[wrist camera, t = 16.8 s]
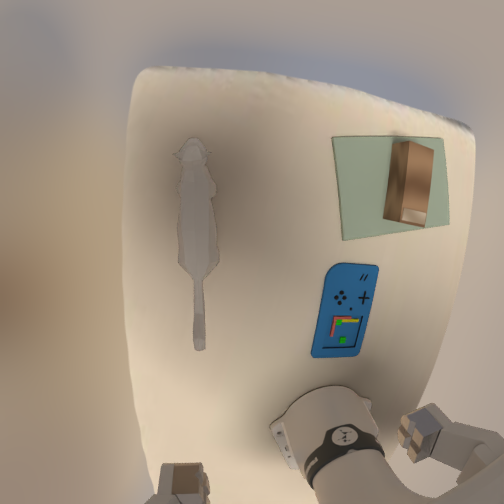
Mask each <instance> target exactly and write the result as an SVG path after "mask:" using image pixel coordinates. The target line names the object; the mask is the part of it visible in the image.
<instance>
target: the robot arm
mask: <svg viewBox="0 0 504 504" xmlns="http://www.w3.org/2000/svg"><path fill="white" fill-rule="evenodd" d="M371 407H372V403H371V401H370V400H369V399H367V398H363V397H360V396H358V395H357V394H356V393H355V392H354V391H353V390H351V389H349V388H347V387H343V386H328V387H323V388H319V389H316V390H314V391H311V392H309V393H307V394H305V395H304V396H302V397H301V398H299V399H298V400H297V401H295V402H294V403H293V404H292V405H291V406H290V407H289V409H288V410H287V411H286V413H285V414H284V415H283V416H282V417H281V418H279V419H278V420H276V421H275V422H274V423H272V424H271V426H270V429H271V432H272V434H273V436H274V438H275V440H276V442H277V444H278V446H279V448H280V450H281V452H282V454H283V456H284V458H285V460H286V462H287V464H288V466H289V468H290V469H295V470H300V472H301V474H302V476H303V478H304V479H306V480H307V482H308V483H309V485H310V486H311V488H312V489H313V490H314V491H315V494H316V497H317V499H318V502H319V504H504V439H503V438H502V437H501V436H500V435H499V434H498V433H497V432H494V431H490V430H486V429H482V428H477V427H473V426H470V425H466V424H462V423H458V422H454V423H452V422H451V420H449V419H448V417H447V416H446V415H445V414H444V413H443V412H442V411H441V410H440V409H439V408H438V407H437V406H436V405H435V404H434V403H430V404H428V405H426V406H424V407H421V408H419V409H416V410H414V411H412V412H410V413H407V414H405V415H403V416H402V417H401V420H400V422H401V424H402V425H401V426H400V427H399V429H398V433H397V435H398V440H399V443H400V445H401V446H402V447H403V448H406V449H408V452H407V455H408V456H409V458H410V459H411V461H412V462H413V463H416V462H419V461H421V460H423V459H425V458H427V457H431V458H433V459H435V460H437V461H440V462H442V463H444V464H447V465H449V466H451V467H453V468H456V469H458V470H460V471H462V472H461V474H460V475H459V477H458V478H457V481H456V482H457V484H458V486H456V487H455V488H453V489H451V490H450V491H448V492H446V493H444V494H443V495H441V496H439V497H437V498H430V497H425V496H422V495H419V494H417V493H415V492H413V491H411V490H410V489H408V488H407V487H406V486H405V485H404V484H403V483H402V482H401V481H400V480H399V478H398V477H397V476H396V475H395V473H394V472H393V470H392V469H391V467H390V466H389V464H388V463H387V461H386V460H385V454H384V451H383V449H382V446H381V444H380V443H379V441H377V439H376V438H377V435H378V433H379V429H378V427H377V425H376V423H375V421H374V419H373V417H372V415H371V414H370V410H371ZM209 494H210V486H209V480H208V477H207V474H206V473H205V472H203V465H202V463H201V462H200V463H163V464H162V466H161V471H160V478H159V486H158V493H157V494H154V495H153V496H152V497H151V498H150V499H149V500H148V501H147V502H146V503H145V504H210V500H209V498H208V495H209Z"/></svg>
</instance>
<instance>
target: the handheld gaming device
mask: <svg viewBox="0 0 504 504" xmlns="http://www.w3.org/2000/svg"><path fill="white" fill-rule="evenodd" d="M378 272H379V268H378V266H376V265H364V264H351V263H339V264H336V265H334V266H333V267H331V268H330V269H329V271H328V272H327V274H326V277H325V282H324V288H323V293H322V299H321V304H320V310H319V315H318V320H317V325H316V330H315V335H314V340H313V345H312V350H311V355H312V357H313V358H331V357H353V356H357V355H358V354H359V352H360V349H361V345H362V341H363V338H364V334H365V330H366V326H367V322H368V318H369V314H370V309H371V305H372V301H373V296H374V291H375V287H376V282H377V277H378Z"/></svg>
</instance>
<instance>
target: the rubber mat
mask: <svg viewBox="0 0 504 504" xmlns="http://www.w3.org/2000/svg"><path fill="white" fill-rule="evenodd" d="M405 141H412V142H415V143H418V144H420V145H423V146H426V147H428V148H431V149H433V150H434V158H433V169H432V179H431V187H430V195H429V203H428V210H427V216H426V222H425V228H431V227H437V226H444V225H450V224H449V194H448V180H447V168H446V158H445V150H444V142H443V139H439V138H420V137H333V138H332V144H333V151H334V159H335V167H336V176H337V185H338V194H339V205H340V216H341V228H342V240H343V241H346V240H353V239H359V238H366V237H372V236H379V235H385V234H392V233H398V232H405V231H411V230H418V229H424V228H423V227H418V226H413V225H409V224H404V223H399V222H395V221H390V220H386V219H383V213H384V207H385V200H386V193H387V186H388V178H389V170H390V161H391V151H392V144H394V143H399V142H405Z"/></svg>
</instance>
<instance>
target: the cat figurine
mask: <svg viewBox="0 0 504 504" xmlns="http://www.w3.org/2000/svg"><path fill="white" fill-rule="evenodd" d="M210 153H212V152H207V149H206V148H205V146H204V145H203V144H202V143H201V141H200V140H199V139H198V138H189V139H188V140H187V141H186V143H185V144H184V145H183V147H182V148H181V149H180V151H179V153H175V154H173V155H174V156H176V157H177V158H179V162H180V163H181V164H182V166H183V167H182V172H181V180H180V182H179V183H178V185H177V187H176V189H177V191H178V194H179V196H180V198H181V205H180V212H179V219H178V226H177V232H178V242H179V254H178V263H179V264H180V265H181V266H182V267H183V268H184V270H185V271H186V272H187V273H188V274H189V275H190V276H191V277H192V279H193V280H194V324H193V342H194V348H195V350H197V351H202V350H204V349H205V307H204V293H203V282H202V281H203V279H204V278H205V277H207V276H208V274H209V273H210V272H211V271H212V269H213V268H214V267H215V266H217V263H218V262H219V250H218V247H217V226H216V221H215V216H214V211H213V206H212V201H211V198H212V197H215V195H216V193H217V191H216V189H217V185H216V184H215V182H214V181H213V179H212V177H211V175H210V173H209V170H208V168H207V166H206V165H205V163H206V162H207V160H208V158H207V156H208V155H209V154H210Z"/></svg>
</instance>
